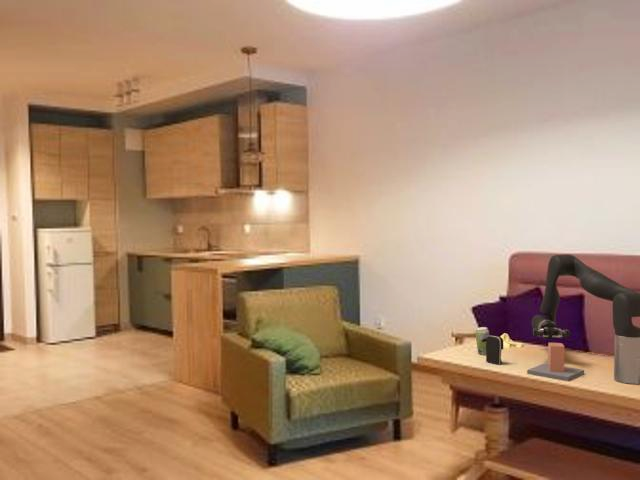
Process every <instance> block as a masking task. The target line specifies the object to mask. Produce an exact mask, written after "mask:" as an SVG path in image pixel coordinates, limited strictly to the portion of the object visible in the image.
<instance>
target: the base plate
mask: <svg viewBox="0 0 640 480" xmlns="http://www.w3.org/2000/svg"><path fill="white" fill-rule="evenodd" d="M526 374H528V375H532V376H538V377H542V378H543V377H544V378H548V379H553V380H559V381H564V382H565V381H566V382H569V381H571V380H574V379H576V378H578V377H580V376H582V375H584V374H585V369H581V368H575V367H571V366H565V365H564V372H550V370H549V368H548V362H546V363H545V362H544V363H541V364H539V365H537V366H533V367H531V368H529V369H527V370H526Z"/></svg>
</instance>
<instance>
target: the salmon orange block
mask: <svg viewBox="0 0 640 480" xmlns="http://www.w3.org/2000/svg"><path fill="white" fill-rule="evenodd" d="M547 349H548V352H547V353H548V354H547V357H548V358H547V360H548V361H547V364H548V368H549V370H550V372H564V366H565V345H564V344H563V343H561V342H548V347H547Z"/></svg>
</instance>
